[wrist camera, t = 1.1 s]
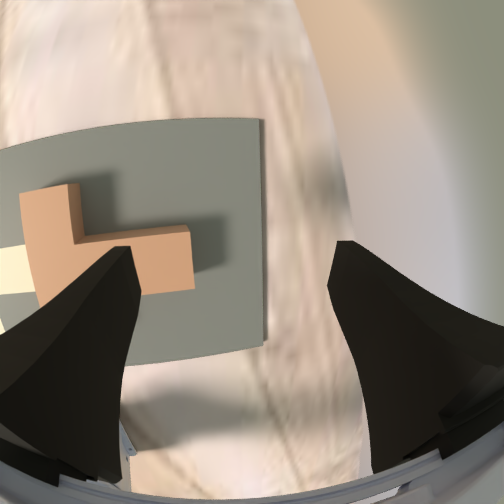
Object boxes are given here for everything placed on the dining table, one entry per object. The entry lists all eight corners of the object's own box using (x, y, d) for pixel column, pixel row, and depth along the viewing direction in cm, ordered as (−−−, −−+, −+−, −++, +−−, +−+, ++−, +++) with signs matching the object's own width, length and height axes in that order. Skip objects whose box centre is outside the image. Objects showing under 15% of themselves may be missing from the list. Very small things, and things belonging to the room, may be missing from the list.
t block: (182, 171, 20) (186, 169, 17) (195, 319, 23) (200, 337, 20) (35, 191, 16) (19, 193, 14) (64, 332, 20) (55, 351, 17)
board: (261, 342, 26) (263, 345, 26) (-30, 362, 17) (-32, 365, 16) (256, 120, 21) (258, 118, 21) (-74, 181, 11) (-77, 182, 11)
